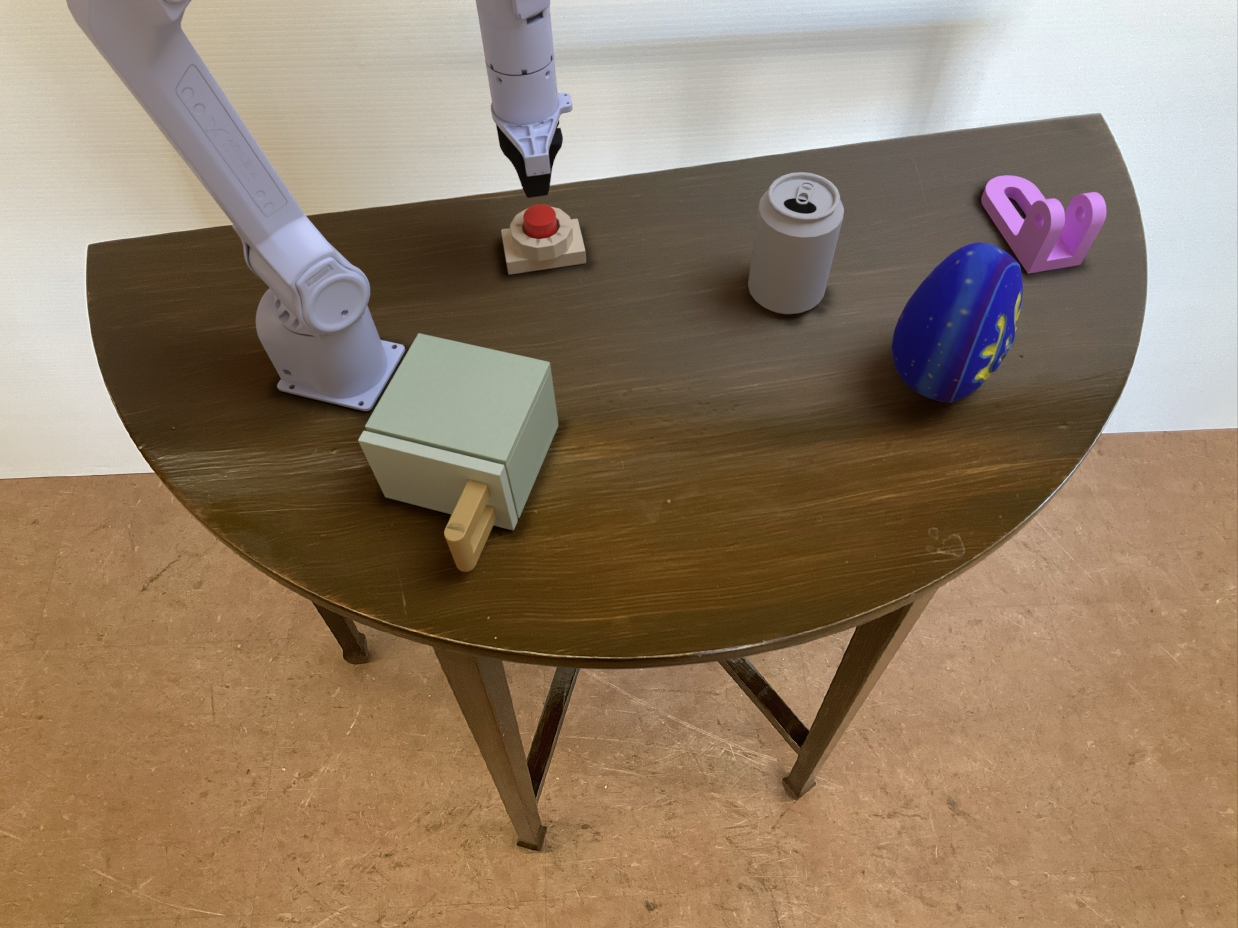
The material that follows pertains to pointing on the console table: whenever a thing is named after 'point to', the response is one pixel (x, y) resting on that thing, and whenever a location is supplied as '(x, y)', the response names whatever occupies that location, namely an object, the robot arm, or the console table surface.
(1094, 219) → the bracket
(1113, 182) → the console table surface
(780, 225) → the can
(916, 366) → the ornament
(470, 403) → the cupboard
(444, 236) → the console table surface
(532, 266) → the button box
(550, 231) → the button
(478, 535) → the door
